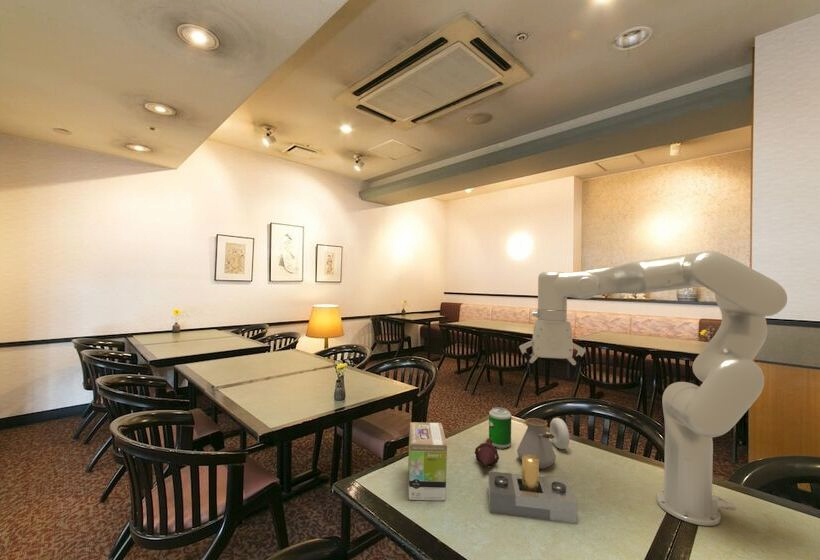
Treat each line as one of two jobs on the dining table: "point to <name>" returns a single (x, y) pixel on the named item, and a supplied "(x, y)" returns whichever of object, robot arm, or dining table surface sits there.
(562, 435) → the donut
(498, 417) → the soda can
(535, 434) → the coffee pot
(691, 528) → the dining table surface
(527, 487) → the pin
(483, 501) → the dining table surface
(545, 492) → the grey rectangular block
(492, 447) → the icecream
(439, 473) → the tea box
